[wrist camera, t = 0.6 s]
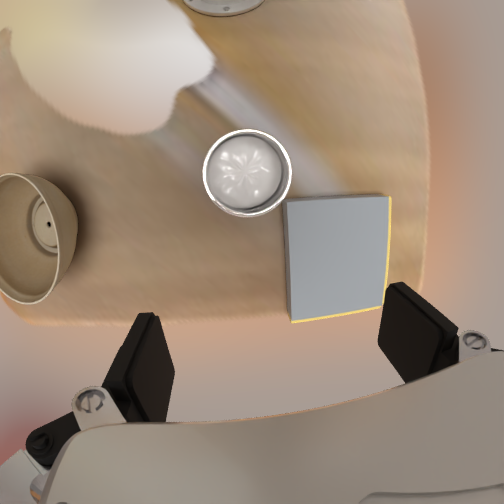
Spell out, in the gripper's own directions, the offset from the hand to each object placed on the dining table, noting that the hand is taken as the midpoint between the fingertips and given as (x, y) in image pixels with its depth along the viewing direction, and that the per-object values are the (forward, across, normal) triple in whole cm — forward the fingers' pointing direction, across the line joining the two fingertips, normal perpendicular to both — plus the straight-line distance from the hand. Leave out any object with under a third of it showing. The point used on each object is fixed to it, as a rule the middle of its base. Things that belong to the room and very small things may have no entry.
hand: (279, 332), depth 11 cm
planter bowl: (+26, +28, -2) cm, 39 cm away
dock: (+26, -12, +7) cm, 29 cm away
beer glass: (+26, 0, -5) cm, 27 cm away
